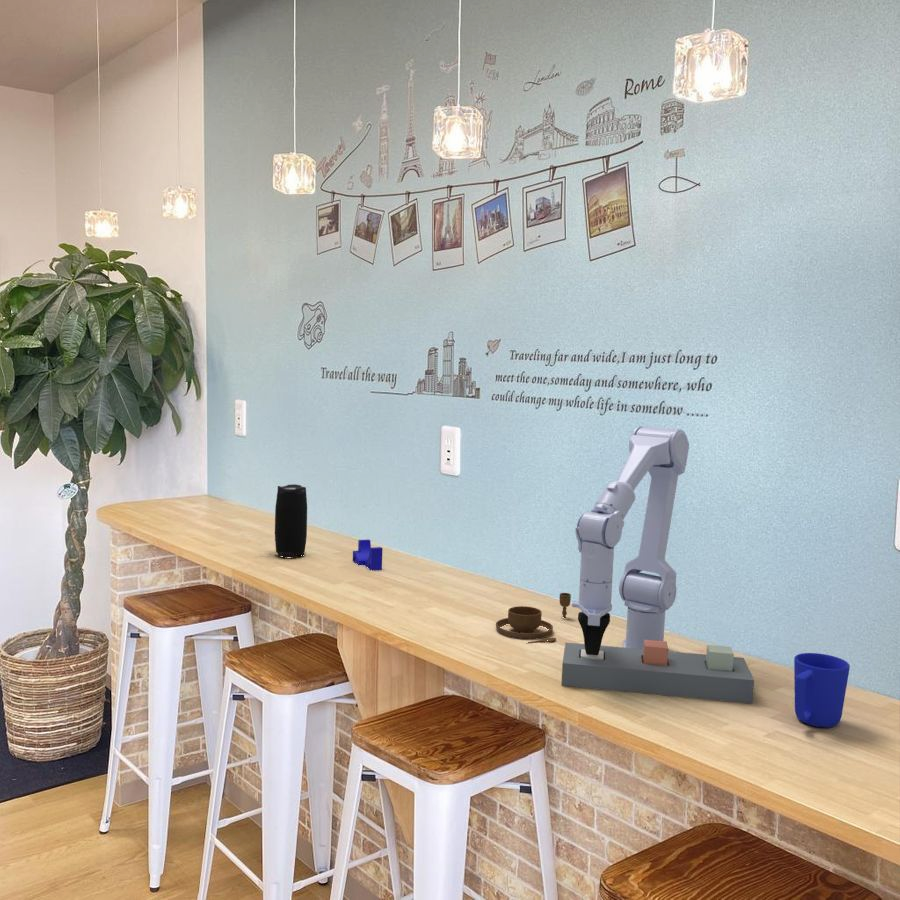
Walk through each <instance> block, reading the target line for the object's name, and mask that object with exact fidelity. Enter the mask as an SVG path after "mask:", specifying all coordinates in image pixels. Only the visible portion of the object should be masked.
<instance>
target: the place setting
mask: <svg viewBox="0 0 900 900" xmlns="http://www.w3.org/2000/svg"><path fill="white" fill-rule="evenodd" d="M571 597H572V594H571V593H569V592H559V606H561V607H562V611H561V615H562V617H564V618H567V614H568V612H567V609H568V607H569V606H570V605H571V602H572V601H571V599H572V598H571ZM542 614H543V611H542V610H541V609H539V608H537V607H533V606H521V605H520V606H519V605H518V606H512V607H510V608H509V609H508V613H507V617H506V618H502V619H499V620H497V621H496V622H495V628H496V629H495V630H497V632H498V633H499V634H500V635H503V636H505V635H506V636H505V637H508V636H509V638H512V637H514V639H519V638H522V639H521V640H531V641H527V642H528V643H527V644H533V642H534V643H545V642H549V643H553V642H555V641H556V640H557V638H556V637H550V635H552V633H553V630H554V628H553V627H554V626H553V624H551V623H550V622H548V621H545V620H542ZM506 624H510V625H509V626H510V627H511V628H513V629H514V631H510V630H507V629H504V628H503V627H502V626H504V625H506ZM506 626H507V625H506ZM539 626H543V627H546V628H547V629H549V630H548V631H547V630H545V631H542V632H534V631H535V630H537V629H539V628H540V627H539ZM500 627H502V628H500ZM504 627H505V626H504ZM519 632H520V633H519ZM546 636H547V637H546ZM543 637H544V638H543ZM536 638H539V640H537V639H536ZM532 640H533V641H532ZM547 640H548V641H547Z"/></svg>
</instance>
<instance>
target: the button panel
mask: <svg viewBox="0 0 900 900" xmlns="http://www.w3.org/2000/svg"><path fill="white" fill-rule="evenodd" d="M581 649H584V650H585V644H584V643H576V642H565V643H564V650H563V658H562V667H561V668H562V669H561V686H565V687H575V688H584V689H585V688H586V689H595V690H606V691H615V692H616V691H619V692H629V693H637V694H648V695H649V694H650V695H661V696H670V697H682V698H693V699H703V700H711V701H721V702H722V701H725V702H734V703H746V704H753V703H754V690H755V679H754V677H753V675H752V673H751V670H750V668H749V665H748V664H747V662H746V660H745V658H744V657H742V656H741V657H739V656H738V657H737V656H734V657H733V671H723V670H712V669H707V668H706V655H707V653H706V654H704V653H692V652H681V651H680V652H679V651H669V650H668V661H667V666H666V665H655V664H644V663H643V649H636V648H624V647H623V646H622V647H621V646H611V645H601V647H600V651H604V657H603V660H599V659H587V658H581Z"/></svg>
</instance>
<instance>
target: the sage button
mask: <svg viewBox="0 0 900 900" xmlns="http://www.w3.org/2000/svg"><path fill="white" fill-rule="evenodd" d="M733 657H735V656H734V651H733V649H732V647H731V646H726V645H725V646H724V645H723V646H722V645H713V644H707V645H706V668H707V669H712V670H723V671H733Z"/></svg>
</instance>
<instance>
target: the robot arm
mask: <svg viewBox="0 0 900 900" xmlns="http://www.w3.org/2000/svg"><path fill="white" fill-rule="evenodd" d="M688 439H689V438H688V436H687V434H686V432H685V431H684V430H683V429H679V428H678V429H673V428H672V429H670V428H660V427H659V428H657V427H647V426H646V427H645V426H642V425H639V426H636V427H635V428H634V430H633V431H632V432H631V434H630V438H629V441H628V448H629V449H628V450H629V454H628V457H627V459H626V461H625V463H624V465H623V467H622V469H621V471H620V473H619V474H618V477H617V479H616V480H615V481H610V482H608V483H607V484H606V486H605V487H604V489H603V491H602V493H601V494H600V495H599V497H598V499H597V501H596V502H595V503H594V505H593V506H592V509H591V510H590V511H587V512H584V513H583V514H581V515H580V516H579V517H578V520H577V523H576V527H575V531H574V532H575V537H576V540H577V542H578V545H577V549H578V553H580V569H579V588H578V600H572V601H571V607H572V608H577V609H579V611H580V612H577V613H578V614H577V622H578V623H579V625H580V627H581V631H582V635H583V641H584V643H583V644H585V651H586V654H587V655H598V654H599V651H600V647H601V646H602V641H603V639H604V638H603V637H604V634H605V632H606V630H607V628H608V626H609V625H610V623H611V614H610V613H609V612H611V611H612V610H613V605H612V594H613V590H612V589H613V575H614V573H613V572H614V560H615V559H614V558H615V557H614V554H615V547H616V546H617V545H618V543H619V542H620V541H621V537H622V532H623V528H624V525H625V520H624V519H625V518H626V516H627V515H628V513H629V511H630V509H631V508H632V506H633V504H634V503H635V501H636V495H635V489H637V487H638V485H639V484H640V482H641V481H642V480H643V478H644V477H645V476H646V474H647V473H648V474H649V476H650V484H649V490H648V497H647V502H646V509H645V514H644V521H643V527H642V532H641V537H640V538H641V539H640V545H639V549H638V554H637V556H636V557H634V558H633V559H631V560H630V561H628V562H626V564H625V567H624V570H623V574H622V576H621V578H620V580H619V584H618V593H619V596H620V598H621V600H622V601H623V602H624V606H625V607H627V610H626V611H627V614H626V615H627V616H626V617H627V618H626V629H625V631H626V634H625V639H622V647H624V648H636V649H643V646H644V640H655V641H665V640H664V639H665V621H666V611H668V610H669V609H670V608H672V606H673V605H674V603H675V601H676V598H677V573H676V571H675V570H674V569H673V567H672V566H671V565H670V564H669V563H668V562H667V561H666V554H667V553H666V552H667V549H668V548H667V545H668V542H669V541H668V540H669V535H670V529H671V524H672V523H671V522H672V516H673V510H674V505H675V504H674V503H675V498H676V494H677V493H676V492H677V486H678V481H679V476H680V475H682V474H684V473H685V472H686V466H687V461H688V455H689V452H690V451H689V450H690V443H689V440H688ZM642 571H644V572H647V573H643V572H642ZM648 572H649V573H648ZM650 573H654V574H650ZM655 574H657V575H655Z"/></svg>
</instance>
